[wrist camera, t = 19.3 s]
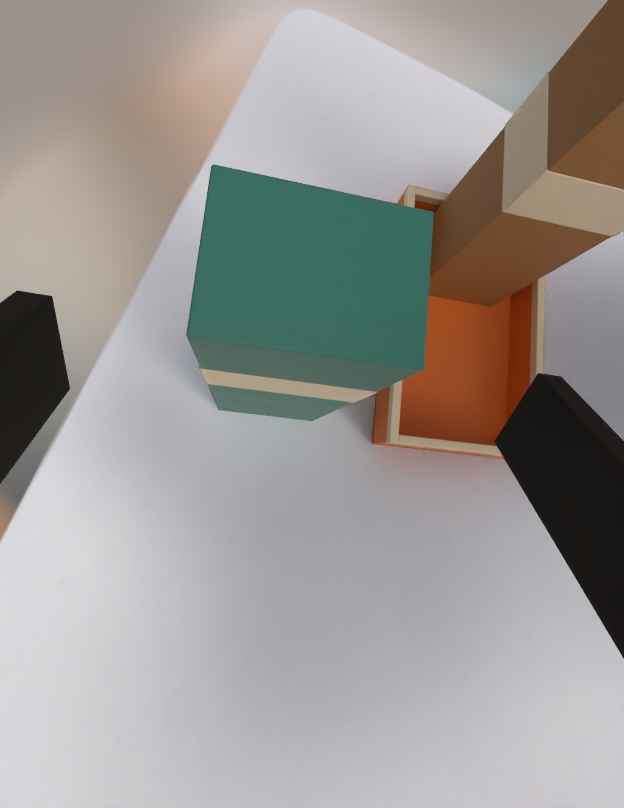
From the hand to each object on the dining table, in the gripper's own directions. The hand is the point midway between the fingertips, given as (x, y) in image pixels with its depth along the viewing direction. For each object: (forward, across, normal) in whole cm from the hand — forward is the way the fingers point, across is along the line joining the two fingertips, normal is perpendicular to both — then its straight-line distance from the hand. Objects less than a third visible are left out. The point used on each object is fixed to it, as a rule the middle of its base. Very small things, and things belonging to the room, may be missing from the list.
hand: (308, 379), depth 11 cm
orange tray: (+16, +12, -5) cm, 20 cm away
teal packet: (+12, 0, -8) cm, 15 cm away
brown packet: (+19, +12, -1) cm, 22 cm away
